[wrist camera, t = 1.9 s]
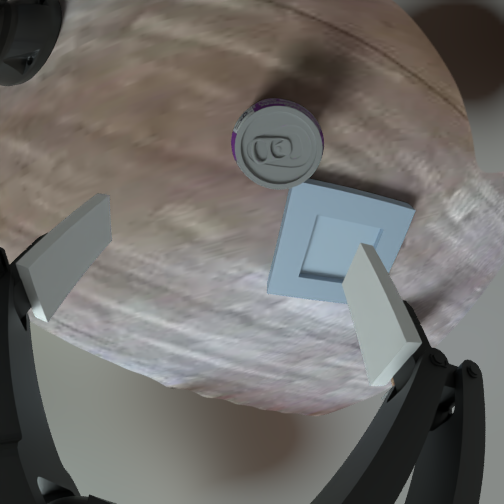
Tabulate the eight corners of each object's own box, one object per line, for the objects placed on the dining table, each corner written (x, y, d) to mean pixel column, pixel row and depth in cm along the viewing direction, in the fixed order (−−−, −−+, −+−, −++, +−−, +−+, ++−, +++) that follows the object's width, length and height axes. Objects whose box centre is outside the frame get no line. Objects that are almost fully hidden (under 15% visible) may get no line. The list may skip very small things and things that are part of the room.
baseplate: (292, 175, 31) (293, 180, 29) (408, 203, 32) (415, 210, 30) (267, 283, 40) (267, 293, 38) (367, 297, 40) (371, 306, 39)
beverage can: (248, 162, 31) (237, 201, 21) (237, 103, 27) (219, 108, 17) (309, 155, 30) (332, 190, 20) (301, 94, 26) (323, 94, 16)
